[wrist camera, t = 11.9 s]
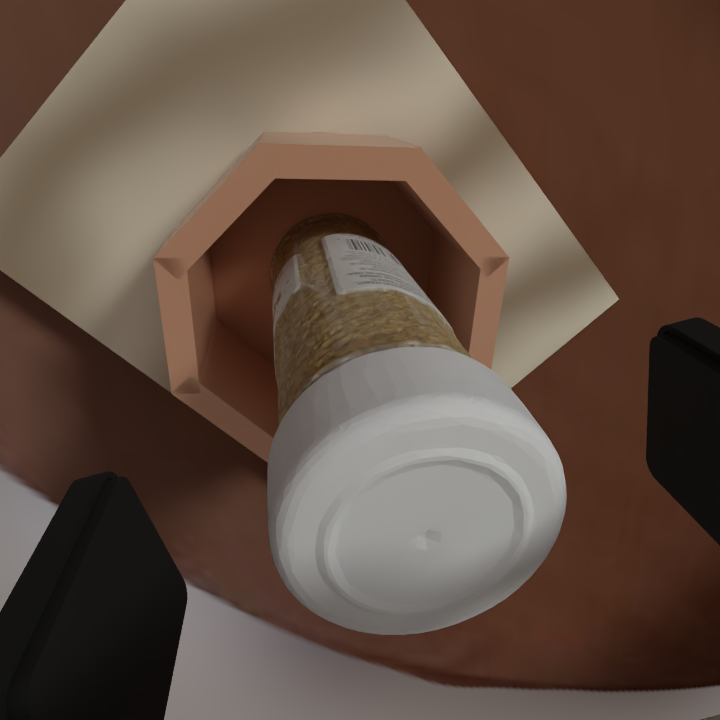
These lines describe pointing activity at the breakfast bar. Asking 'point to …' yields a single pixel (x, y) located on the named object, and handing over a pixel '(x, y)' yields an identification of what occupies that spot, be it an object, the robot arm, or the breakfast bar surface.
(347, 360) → the spice jar
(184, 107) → the birch board
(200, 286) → the terracotta octagonal bowl
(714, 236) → the breakfast bar surface
